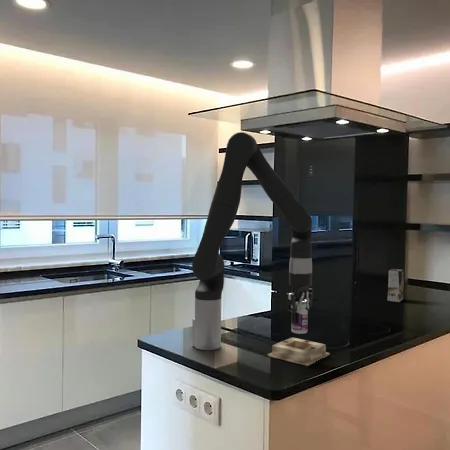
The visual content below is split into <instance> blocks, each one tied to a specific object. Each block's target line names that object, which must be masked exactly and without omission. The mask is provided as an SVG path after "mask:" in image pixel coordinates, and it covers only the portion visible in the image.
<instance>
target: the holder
mask: <svg viewBox="0 0 450 450" xmlns="http://www.w3.org/2000/svg"><path fill="white" fill-rule="evenodd" d="M330 355H331V353H330V352H327V345H326V344H324V343H320V342H315V341H311V340H309V339H307V340H306V339H303V338H302V339H301V338H297V337H293V336H292V337H289V338H287V339H285V340H282V341H280V342H277V343H274V344H273V345H271V352H269V353H267V357H271V358H275V359H279V360H283V361H286V362H290V363H294V364H298V365H302V366H306V367H309V366H311V365H312V364H315V363H317V362H318V360H319V361H320V359H321V360H322V358H323V359H324V358H326V357H328V356H330ZM316 361H317V362H316Z"/></svg>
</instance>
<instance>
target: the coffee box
mask: <svg viewBox="0 0 450 450" xmlns="http://www.w3.org/2000/svg"><path fill="white" fill-rule="evenodd" d="M404 278H405V269H400V268H391V269H389V270H388V284H387V286H388V287H387V301H389V302H396V303H400V302H402V301H403V300H404V286H405V285H404V281H405V280H404Z"/></svg>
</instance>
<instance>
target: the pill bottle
mask: <svg viewBox="0 0 450 450" xmlns="http://www.w3.org/2000/svg"><path fill="white" fill-rule="evenodd" d="M296 303H298V302H296ZM296 307H297V305H296ZM305 308H306V303H303V302H302V304H301V306H300V307H299V312H298V313H299V323H298V324H294V323H292V320H291V324H290V325H291V329H290V330H291V332H292V333H294V334H299V335H300V334H303V335H304V334H307V333H308V326H309V324H308V322H309V321H308V320H309V310H308V311H307V310H306V309H305Z"/></svg>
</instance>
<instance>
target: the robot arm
mask: <svg viewBox="0 0 450 450" xmlns="http://www.w3.org/2000/svg"><path fill="white" fill-rule="evenodd" d="M246 168H248V169H249V171H251V173H252V174H253V175H254V176H255V178H256V180H257V181H258V183H259V184H260V186H261V188H262V189H263V191H264V192H265V194H266V195H267V197H268V198H269V199H270V201H271V202H272V204H274V206H275V208H277V210H279V211H280V212H281V214H282V215H283V217H284V219H285V220H286V222H287V223H288V224H289V226H290V227H291V232H290V233H291V242H290V249H289V250H290V251H289V253H290V254H289V255H290V256H289V257H290V258H289V263H288V265H289V266H288V267H289V269H288V285H289V286H291V292H287V293H286V296H285V297H286V306H287V307H286V308H287V311H288V312H291V321H292V323H294V324H298V323H299V313H298V312H299V307H300V306H301V304H302V302H303V303H306V308H305V309H306V310H307V311H308V312H309V309H310V307H312V306H313V297H314V289H313V288H309V287H311V286H313V285H312V284H313V260H312V255H313V254H312V253H313V252H312V251H313V248H312V247H313V246H312V235H313V234H312V231H313V216H312V215H311V214H310V213H309V212H308V211H307V210H306V209H305V207H303V206H302V204H301V203H300V202H299V201H298V200H297V197H296V195H295V194H294V193H293V191H292V190H291V188H290V187H288V185H287V184H286V182H284V180H283V179H282V178H281V177H280V176H279V174H278V173H277V172H276V171H275V170H274V168H273V167H272V166H271V165H270V163H269V162H268V161H267V159H266V157H265V156H264V154H263V153H262V151H261V148H260V146H259V145H258V142H257V141H256V139H255V138H254V136H252V135H250V134H248V133H247V132H243V131H238V132H235V133H233V134H232V135H231V136H230V137H229V139H228V141H227V143H226V149H225V154H224V160H223V164H222V170H221V173H220V175H219V178H218V181H217V185H216V188H215V190H214V193H213V197H212V201H211V203H210V207H209V211H208V215H207V219H206V221H205V225H204V228H203V229H204V230H203V232H202V237H201V240H200V242H199V243H198V244H199V245H198V247H197V248H196V249H197V250H196V252H195V254H194V256H193V259H192V263H191V270H192V273H193V275H194V276H195V278H196V279H198V280H199V283H198V285H197V287H196V288H195V292H194V318H192V324H191V325H192V327H191V328H192V329H191V330H192V331H191V333H192V335H191V336H192V337H191V338H192V339H191V341H192V342H191V346H192V347H194V348H195V349H197V350H201V351H214V350H218V349H220V348H221V346H222V342H221V341H222V338H221V337H222V294H223V291H224V287H225V286H224V285H225V260H224V259H223V256H222V255H221V253H219V252H220V250H221V246H222V243H223V241H224V240H225V238H226V236H227V235H228V233H229V231H230V229H231V228H232V226H233V224H234V223H235V220H236V217H237V214H238V210H239V207H240V202H241V197H242V186H243V177H244V174H245V171H246ZM296 302H298V303H296ZM296 305H297V307H296Z"/></svg>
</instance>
